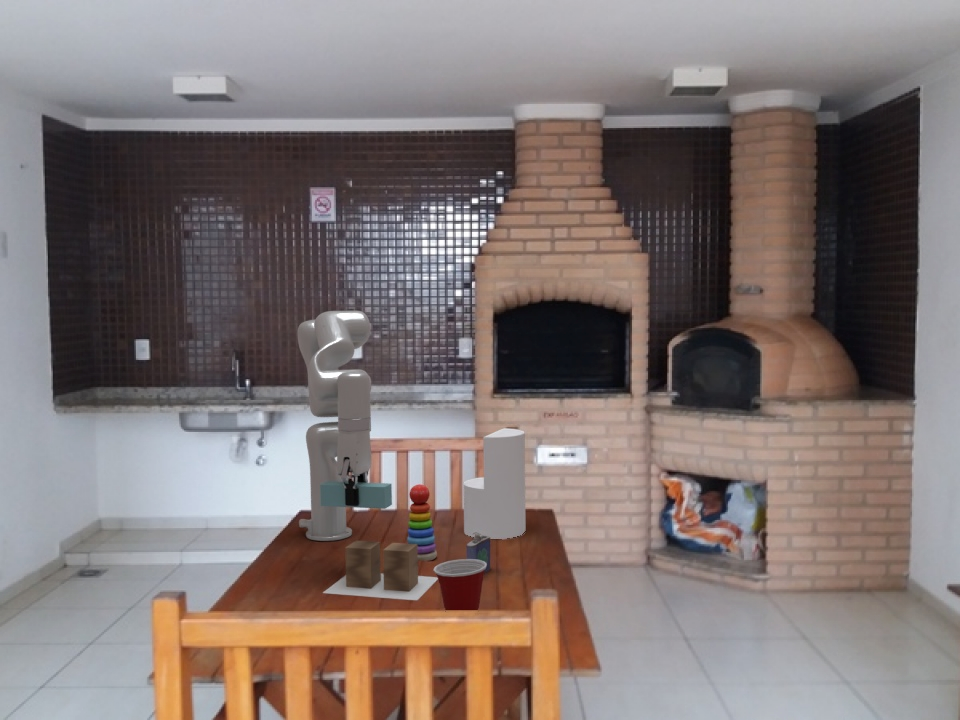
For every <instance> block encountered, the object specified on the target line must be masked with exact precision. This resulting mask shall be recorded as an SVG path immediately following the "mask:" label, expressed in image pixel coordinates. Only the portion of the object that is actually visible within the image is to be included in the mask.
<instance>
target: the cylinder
mask: <svg viewBox="0 0 960 720" xmlns="http://www.w3.org/2000/svg"><path fill="white" fill-rule="evenodd" d="M482 438H483V439H482V442H483V443H482V444H483V445H482V447H483V455H482V456H483V477H474V478H470V479H467V480H465V481H464V482H463V533H464V534H465V535H466V536H467V535H468V537H470V536H471V537H470V538H473V537H475V534H476V533H475V532H477V533H479V534H481V535H480V536H482V535H483V536H489V537H490V539H502V540H508V539H507V538H510V539H514V538H513V537H516V538H518V537H517V536H519V537H521V536H523V535H524V534H525V533H526V532H525V531H527V530H526V521H527V520H526V434H525V431H524V430H522V429H517V428H505V427H504V428H501V429H499V430H496V431H494V432H492V433H489V434H487V435H485V436H483V437H482ZM524 532H525V533H524ZM473 533H475V534H473ZM523 533H524V534H523ZM522 534H523V535H522ZM520 535H521V536H520Z"/></svg>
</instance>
